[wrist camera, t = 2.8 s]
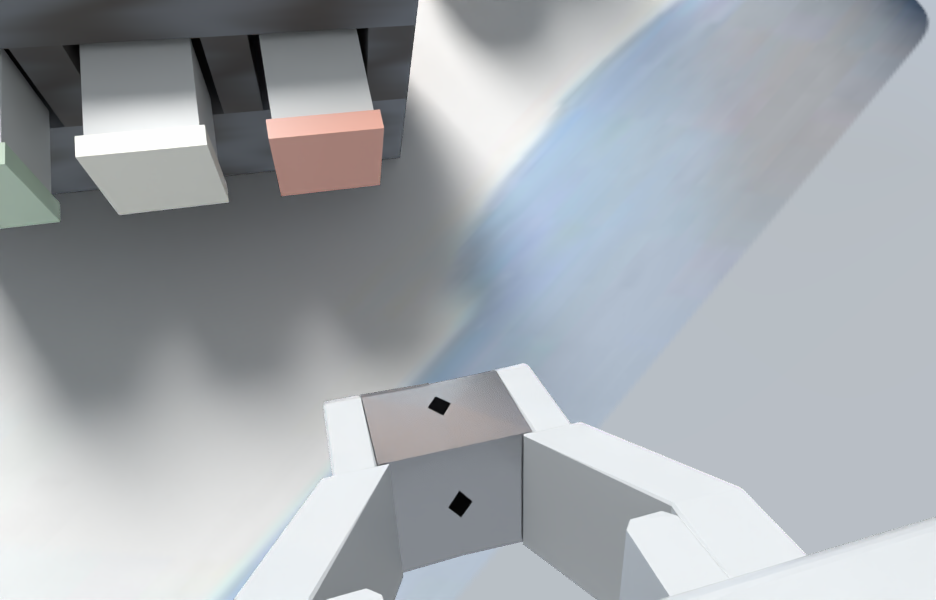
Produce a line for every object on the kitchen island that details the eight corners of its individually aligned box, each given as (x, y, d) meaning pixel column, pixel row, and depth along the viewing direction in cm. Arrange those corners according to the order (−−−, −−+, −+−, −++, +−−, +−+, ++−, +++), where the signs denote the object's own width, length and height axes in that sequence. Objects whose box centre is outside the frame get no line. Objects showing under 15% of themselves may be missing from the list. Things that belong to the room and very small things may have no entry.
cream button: (119, 215, 24) (75, 157, 20) (112, 109, 25) (70, 37, 22) (229, 202, 25) (206, 144, 21) (216, 101, 26) (193, 30, 22)
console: (-43, 204, 28) (-308, -12, 17) (-40, 58, 30) (-269, -215, 19) (399, 157, 32) (422, -36, 21) (372, 34, 35) (380, -198, 24)
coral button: (281, 196, 25) (268, 138, 21) (266, 97, 27) (251, 27, 23) (380, 184, 26) (384, 127, 22) (360, 89, 28) (360, 21, 24)
